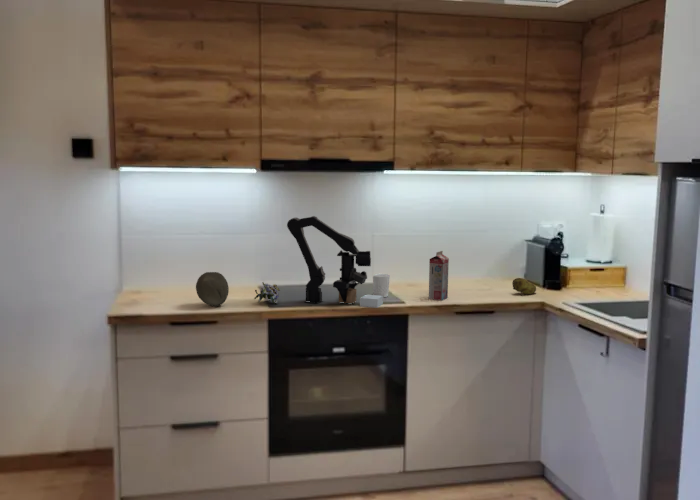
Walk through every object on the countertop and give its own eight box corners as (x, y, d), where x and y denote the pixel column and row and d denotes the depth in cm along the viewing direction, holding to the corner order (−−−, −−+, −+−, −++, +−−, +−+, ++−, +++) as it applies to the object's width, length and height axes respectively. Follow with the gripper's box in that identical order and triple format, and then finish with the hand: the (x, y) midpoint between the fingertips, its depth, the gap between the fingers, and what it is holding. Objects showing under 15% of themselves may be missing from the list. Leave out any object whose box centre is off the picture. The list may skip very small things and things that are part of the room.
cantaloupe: (232, 302, 294) (231, 269, 292) (225, 309, 280) (224, 275, 278) (200, 302, 295) (199, 269, 292) (192, 309, 281) (191, 274, 278)
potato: (540, 295, 315) (541, 278, 314) (515, 296, 313) (515, 279, 312) (533, 292, 323) (534, 275, 322) (508, 292, 321) (509, 276, 320)
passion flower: (275, 315, 293) (280, 297, 285) (251, 312, 291) (255, 293, 283) (277, 297, 301) (282, 279, 294) (253, 293, 300) (257, 275, 292)
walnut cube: (338, 303, 294) (338, 290, 294) (344, 300, 300) (344, 287, 299) (351, 304, 292) (351, 291, 291) (356, 302, 297) (356, 288, 297)
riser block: (359, 306, 289) (360, 297, 288) (365, 303, 296) (365, 294, 296) (377, 308, 286) (377, 299, 286) (382, 304, 294) (382, 295, 293)
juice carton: (447, 298, 307) (448, 251, 304) (441, 300, 302) (443, 252, 299) (434, 296, 311) (435, 250, 308) (428, 299, 305) (429, 251, 302)
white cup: (379, 298, 305) (379, 277, 304) (369, 295, 312) (369, 274, 311) (392, 296, 310) (393, 275, 308) (382, 293, 316) (383, 273, 315)
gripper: (356, 270, 282) (356, 306, 284) (372, 264, 299) (371, 298, 301) (332, 268, 286) (332, 303, 288) (349, 262, 303) (349, 295, 305)
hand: (347, 300), depth 296 cm, fingers closed on walnut cube, 6 cm apart
